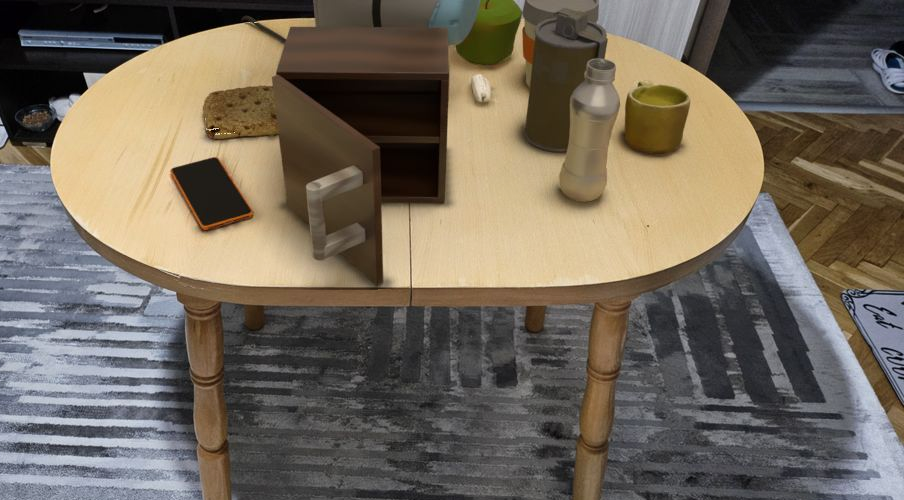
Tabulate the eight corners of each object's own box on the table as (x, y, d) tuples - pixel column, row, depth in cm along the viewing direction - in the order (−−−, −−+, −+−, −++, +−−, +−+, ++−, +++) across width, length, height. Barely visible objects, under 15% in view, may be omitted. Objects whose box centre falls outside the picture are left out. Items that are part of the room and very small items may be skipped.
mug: (700, 152, 121) (691, 88, 117) (630, 167, 124) (619, 105, 120) (689, 126, 132) (680, 67, 127) (625, 140, 134) (614, 82, 130)
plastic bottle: (593, 212, 113) (618, 80, 100) (549, 198, 116) (567, 68, 103) (610, 190, 117) (636, 61, 104) (567, 176, 120) (586, 49, 107)
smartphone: (203, 232, 109) (202, 227, 109) (169, 173, 121) (168, 168, 120) (256, 216, 112) (255, 211, 111) (218, 160, 123) (217, 155, 123)
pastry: (174, 124, 132) (170, 107, 130) (246, 83, 143) (243, 67, 141) (253, 155, 125) (250, 138, 123) (323, 109, 135) (321, 93, 133)
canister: (510, 136, 129) (521, 14, 116) (548, 112, 134) (563, -7, 121) (567, 161, 123) (586, 35, 110) (604, 135, 129) (626, 13, 116)
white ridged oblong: (474, 106, 136) (475, 91, 134) (469, 84, 142) (469, 70, 140) (493, 106, 136) (494, 91, 134) (486, 84, 142) (487, 69, 140)
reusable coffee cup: (579, 66, 147) (592, -16, 138) (594, 99, 138) (608, 13, 128) (511, 67, 147) (518, -15, 137) (521, 100, 138) (529, 14, 128)
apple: (508, 42, 155) (513, -17, 148) (524, 70, 146) (530, 9, 139) (444, 46, 154) (446, -13, 147) (456, 74, 145) (459, 13, 138)
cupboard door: (330, 308, 98) (319, 170, 85) (243, 222, 111) (222, 92, 98) (383, 283, 101) (380, 147, 88) (292, 202, 115) (278, 74, 102)
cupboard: (444, 203, 115) (449, 73, 102) (290, 201, 115) (275, 71, 102) (443, 151, 125) (447, 27, 112) (302, 150, 126) (290, 26, 113)
